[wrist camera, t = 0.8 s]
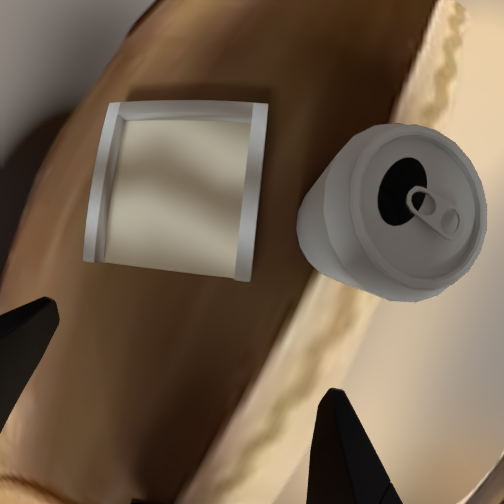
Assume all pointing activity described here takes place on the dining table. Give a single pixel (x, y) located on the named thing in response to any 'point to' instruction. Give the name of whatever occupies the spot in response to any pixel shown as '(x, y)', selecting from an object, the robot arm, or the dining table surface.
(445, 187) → the can
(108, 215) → the rail dock
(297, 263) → the dining table surface
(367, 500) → the robot arm
